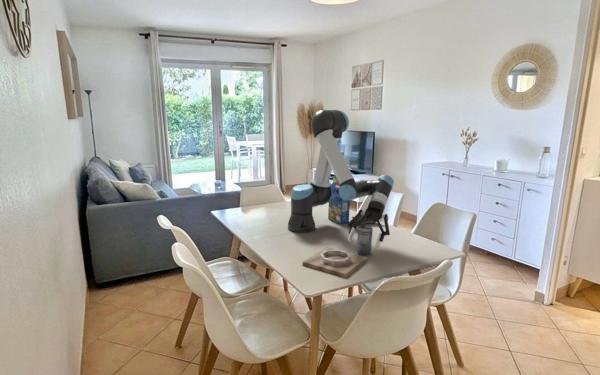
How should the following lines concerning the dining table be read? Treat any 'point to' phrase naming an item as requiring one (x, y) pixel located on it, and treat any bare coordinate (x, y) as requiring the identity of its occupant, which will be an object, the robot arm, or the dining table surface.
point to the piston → (364, 240)
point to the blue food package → (338, 206)
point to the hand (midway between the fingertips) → (362, 244)
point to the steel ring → (335, 262)
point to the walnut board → (339, 269)
